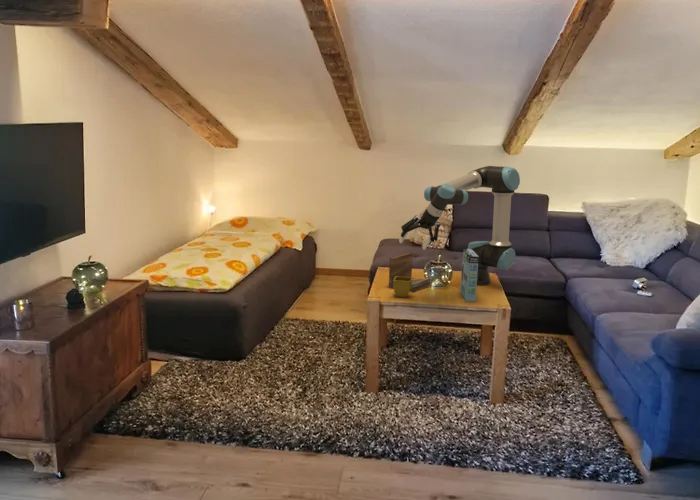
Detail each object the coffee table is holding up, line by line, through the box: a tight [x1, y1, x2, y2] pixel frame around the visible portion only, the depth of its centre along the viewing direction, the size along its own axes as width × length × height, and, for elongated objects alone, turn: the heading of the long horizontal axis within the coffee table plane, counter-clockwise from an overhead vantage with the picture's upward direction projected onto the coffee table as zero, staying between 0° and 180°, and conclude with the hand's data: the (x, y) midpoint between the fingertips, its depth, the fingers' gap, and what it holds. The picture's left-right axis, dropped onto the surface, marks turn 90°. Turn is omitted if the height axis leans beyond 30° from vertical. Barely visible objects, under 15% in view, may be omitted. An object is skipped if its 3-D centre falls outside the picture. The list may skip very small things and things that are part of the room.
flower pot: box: [393, 276, 412, 298], centre depth 309 cm, size 9×9×9 cm
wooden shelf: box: [388, 252, 430, 293], centre depth 328 cm, size 15×20×16 cm
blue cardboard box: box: [459, 248, 479, 303], centre depth 309 cm, size 20×5×23 cm, turn 178°
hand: (411, 245), depth 307 cm, fingers open, 13 cm apart
